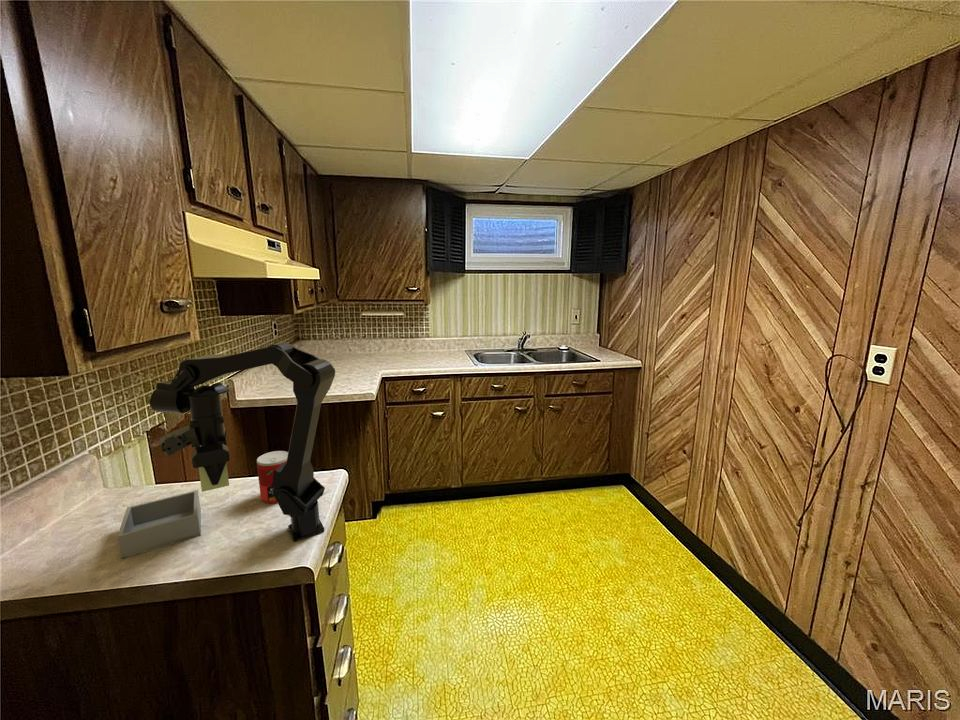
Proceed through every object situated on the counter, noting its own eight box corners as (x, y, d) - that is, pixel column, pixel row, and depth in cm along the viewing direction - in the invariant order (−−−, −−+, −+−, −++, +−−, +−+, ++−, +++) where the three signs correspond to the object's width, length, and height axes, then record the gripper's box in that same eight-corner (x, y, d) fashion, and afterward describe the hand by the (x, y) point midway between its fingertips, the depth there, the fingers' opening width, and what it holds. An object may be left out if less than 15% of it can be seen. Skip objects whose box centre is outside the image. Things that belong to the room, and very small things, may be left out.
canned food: (269, 507, 96) (265, 466, 94) (255, 497, 101) (250, 457, 99) (299, 494, 102) (295, 455, 100) (284, 485, 107) (280, 448, 105)
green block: (229, 485, 86) (226, 460, 85) (201, 492, 83) (198, 466, 82) (228, 476, 90) (225, 452, 89) (201, 482, 87) (198, 457, 86)
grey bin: (200, 535, 85) (197, 514, 84) (121, 559, 78) (117, 536, 77) (200, 508, 95) (197, 490, 94) (130, 527, 88) (127, 507, 87)
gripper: (162, 408, 87) (172, 472, 89) (154, 434, 72) (165, 510, 75) (222, 400, 93) (229, 461, 96) (225, 423, 78) (233, 493, 81)
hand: (214, 479), depth 87 cm, fingers closed on green block, 5 cm apart
